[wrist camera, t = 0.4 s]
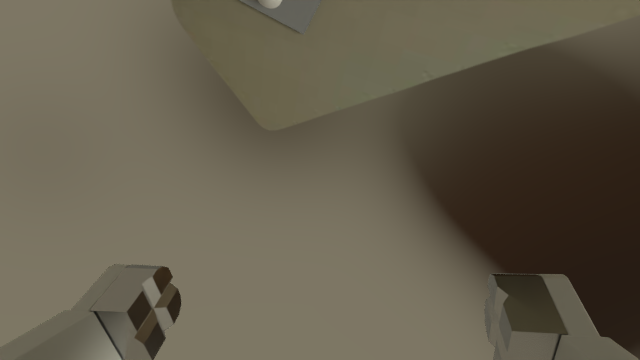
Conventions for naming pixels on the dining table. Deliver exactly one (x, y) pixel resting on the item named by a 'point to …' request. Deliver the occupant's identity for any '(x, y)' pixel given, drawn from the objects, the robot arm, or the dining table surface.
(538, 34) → the dining table surface
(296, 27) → the housing
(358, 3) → the dining table surface
